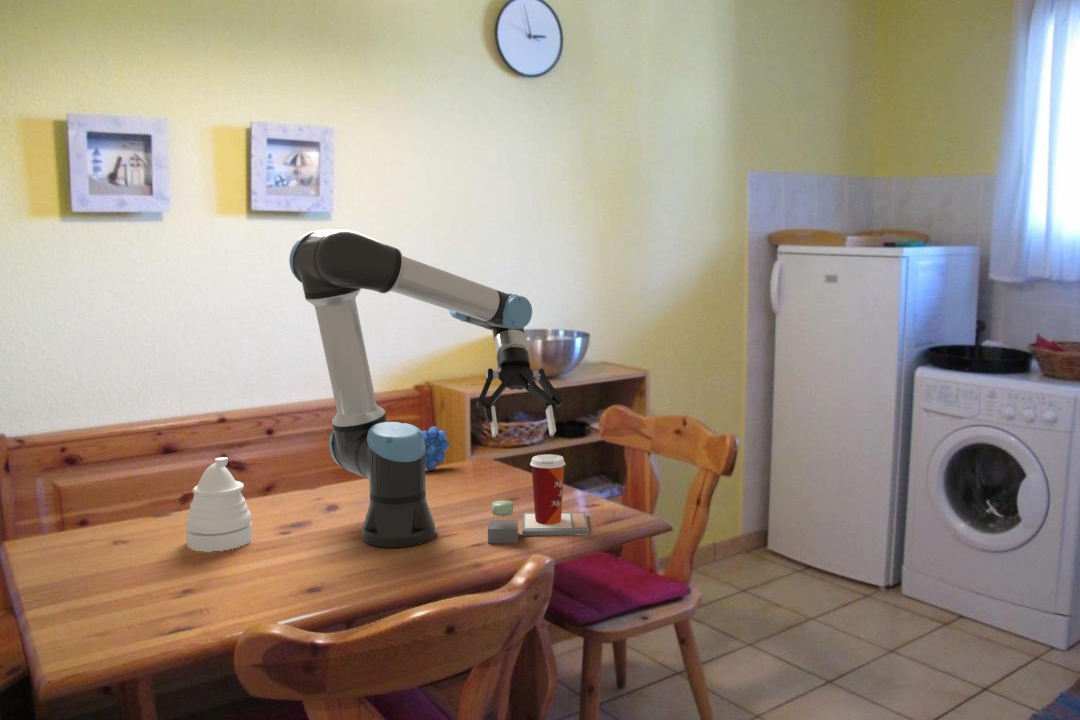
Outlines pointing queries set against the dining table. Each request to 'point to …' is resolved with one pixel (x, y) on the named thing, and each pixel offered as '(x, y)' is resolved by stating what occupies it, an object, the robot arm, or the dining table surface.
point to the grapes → (435, 447)
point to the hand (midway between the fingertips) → (524, 434)
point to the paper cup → (548, 487)
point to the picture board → (556, 525)
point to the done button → (502, 508)
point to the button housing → (503, 531)
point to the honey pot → (218, 512)
